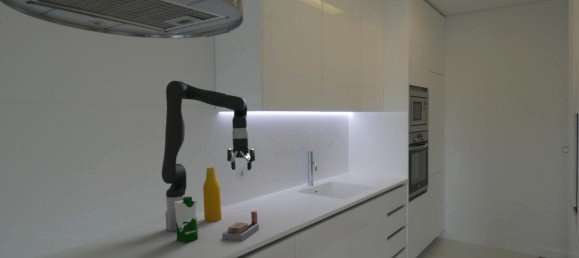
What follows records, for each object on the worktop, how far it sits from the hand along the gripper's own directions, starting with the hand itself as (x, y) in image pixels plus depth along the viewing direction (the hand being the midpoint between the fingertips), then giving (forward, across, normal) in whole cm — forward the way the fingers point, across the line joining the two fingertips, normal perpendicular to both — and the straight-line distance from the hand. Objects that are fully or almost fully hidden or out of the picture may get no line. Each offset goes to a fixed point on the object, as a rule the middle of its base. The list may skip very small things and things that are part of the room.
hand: (241, 169), depth 177 cm
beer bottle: (+30, -25, +11) cm, 41 cm away
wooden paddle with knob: (+30, +2, -2) cm, 30 cm away
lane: (+30, +2, -6) cm, 30 cm away
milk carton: (+30, -19, -20) cm, 41 cm away
